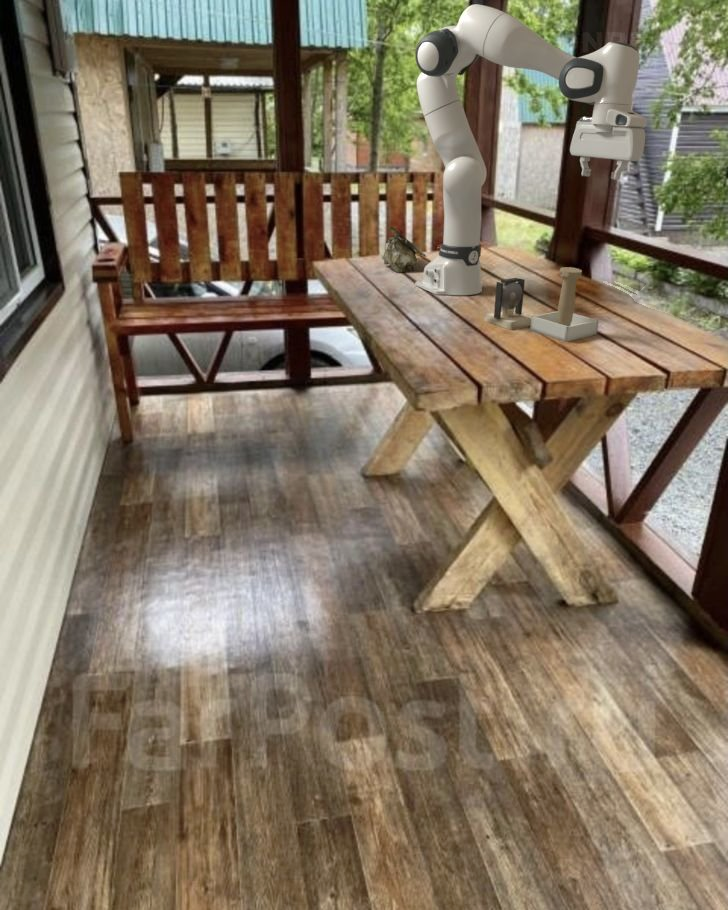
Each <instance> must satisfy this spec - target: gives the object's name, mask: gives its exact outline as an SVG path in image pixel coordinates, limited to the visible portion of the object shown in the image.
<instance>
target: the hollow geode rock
mask: <svg viewBox="0 0 728 910" xmlns="http://www.w3.org/2000/svg"><path fill="white" fill-rule="evenodd" d="M387 228H388V229H389V230H390V232H391V233H393V234H394V236H390V237H388V240H387V241H386V242H385V250H384V253H383V256H382V260H383V264H384V265H389V266H390V267H391V268H392V270H393V271H394V272H395V273H405V272H407V271H408V272H410V271H411V272H412V271H414V266H416V264H417V263H418V258H417V256H416V253H417V254H419V256H423V257H427V255H426V254H425V253H424V252H423V251H422V250H421V249H420V248H418V246H417V244H415V243H414V242H412V241H410V240H409V239H407V238H405V236H403V235H402V234H401V233H400V232H399V231H398V230H397V229H396V228H394V227H391V226H388V227H387Z"/></svg>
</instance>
